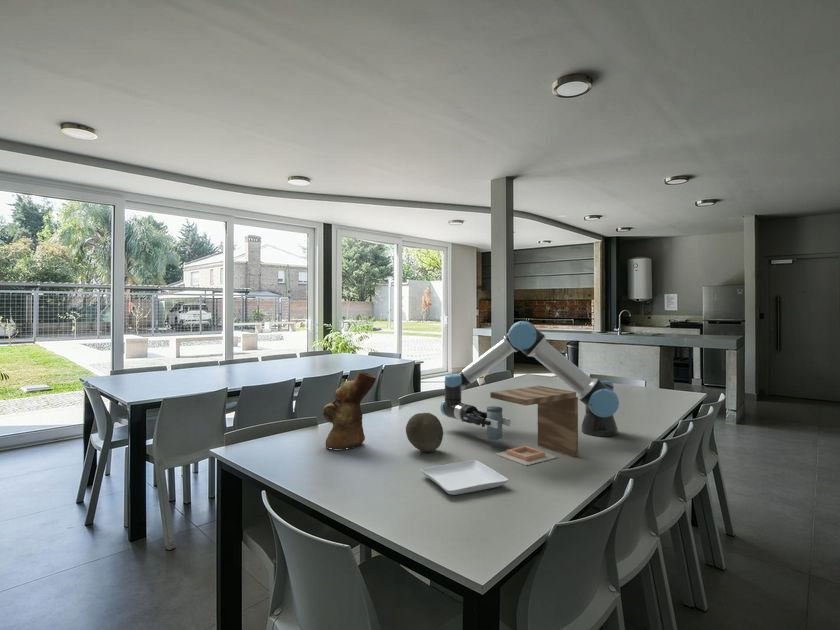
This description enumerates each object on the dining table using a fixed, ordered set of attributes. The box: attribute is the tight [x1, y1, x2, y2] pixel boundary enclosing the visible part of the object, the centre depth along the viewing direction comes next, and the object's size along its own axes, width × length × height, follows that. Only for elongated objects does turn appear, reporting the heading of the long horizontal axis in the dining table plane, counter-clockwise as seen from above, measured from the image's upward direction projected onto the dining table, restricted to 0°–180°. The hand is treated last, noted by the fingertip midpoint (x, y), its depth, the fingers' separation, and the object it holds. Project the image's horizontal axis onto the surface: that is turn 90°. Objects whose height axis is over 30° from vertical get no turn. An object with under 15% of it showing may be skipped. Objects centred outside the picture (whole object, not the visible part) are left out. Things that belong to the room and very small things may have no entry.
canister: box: [486, 405, 503, 441], centre depth 189 cm, size 6×6×12 cm
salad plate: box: [420, 459, 509, 496], centre depth 149 cm, size 21×21×3 cm
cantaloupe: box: [405, 412, 444, 453], centre depth 181 cm, size 14×14×15 cm
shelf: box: [489, 385, 579, 458], centre depth 174 cm, size 27×18×24 cm, turn 123°
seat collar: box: [494, 445, 558, 467], centre depth 175 cm, size 16×16×2 cm
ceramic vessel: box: [322, 370, 377, 449], centre depth 191 cm, size 16×22×30 cm
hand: (503, 423), depth 185 cm, fingers closed on canister, 6 cm apart
